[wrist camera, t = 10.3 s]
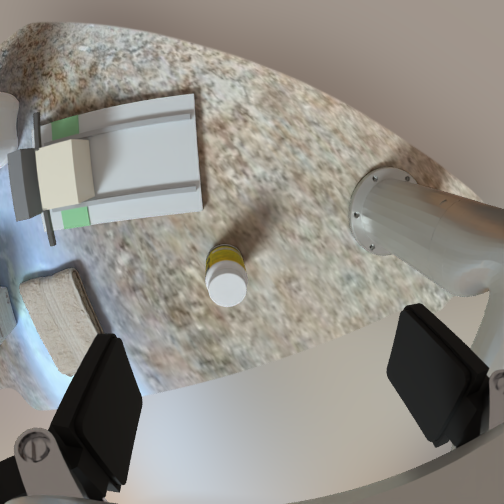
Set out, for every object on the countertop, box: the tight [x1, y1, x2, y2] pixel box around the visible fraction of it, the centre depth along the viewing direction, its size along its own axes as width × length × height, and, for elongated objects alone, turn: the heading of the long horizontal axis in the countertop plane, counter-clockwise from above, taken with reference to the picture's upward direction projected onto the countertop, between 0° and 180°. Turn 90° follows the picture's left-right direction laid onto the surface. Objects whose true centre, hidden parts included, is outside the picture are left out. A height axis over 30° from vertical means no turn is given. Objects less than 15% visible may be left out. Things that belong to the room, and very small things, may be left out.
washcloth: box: [19, 268, 104, 377], centre depth 38 cm, size 12×18×3 cm, turn 11°
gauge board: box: [7, 94, 203, 232], centre depth 29 cm, size 22×14×7 cm, turn 93°
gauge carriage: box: [33, 112, 95, 246], centre depth 29 cm, size 5×15×5 cm, turn 3°
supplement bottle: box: [205, 244, 248, 307], centre depth 35 cm, size 5×5×8 cm
